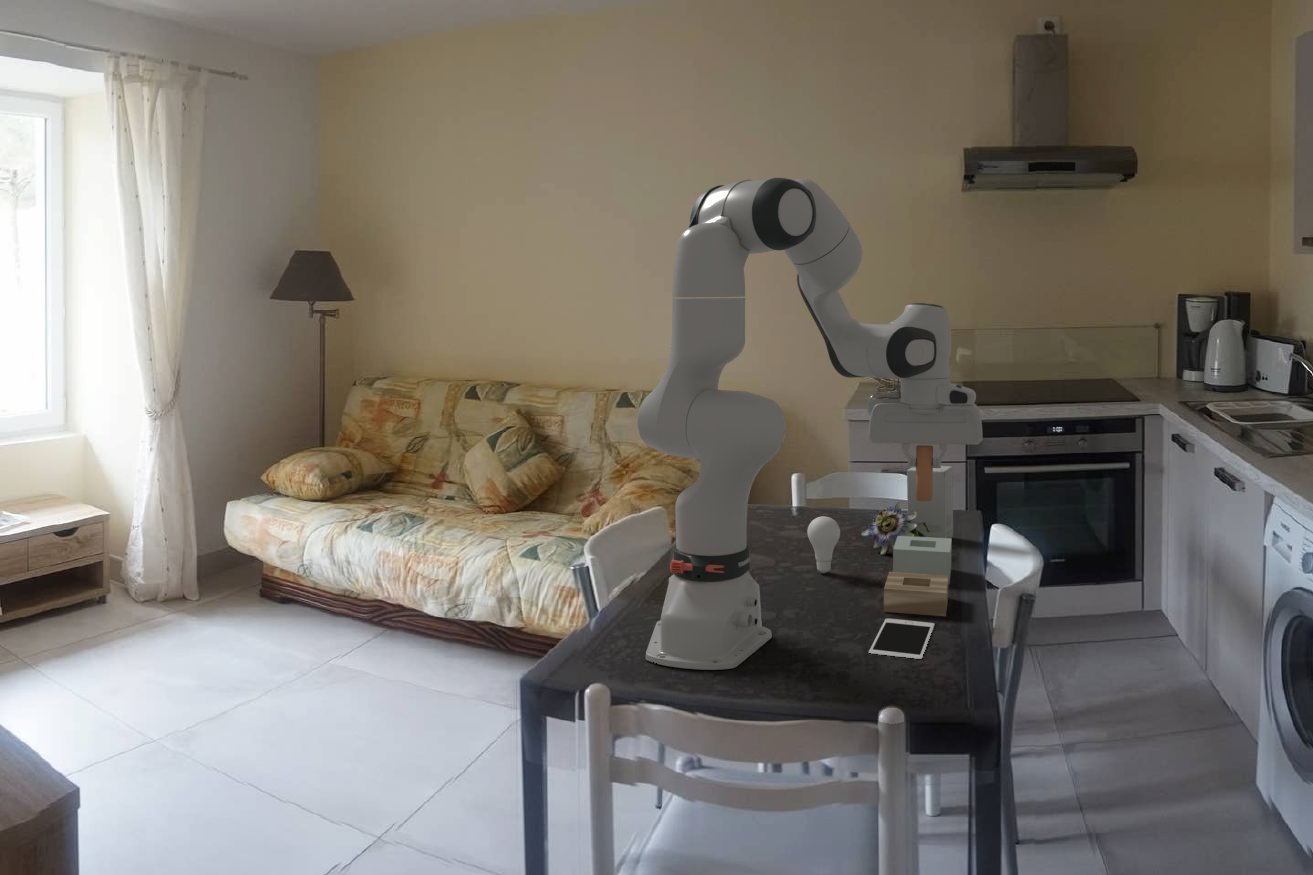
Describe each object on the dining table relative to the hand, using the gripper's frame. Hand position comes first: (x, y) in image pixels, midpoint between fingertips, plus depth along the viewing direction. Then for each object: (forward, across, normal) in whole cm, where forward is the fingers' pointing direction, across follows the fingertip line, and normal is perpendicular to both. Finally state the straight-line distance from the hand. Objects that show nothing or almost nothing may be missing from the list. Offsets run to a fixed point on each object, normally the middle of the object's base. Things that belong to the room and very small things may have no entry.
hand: (924, 467), depth 183 cm
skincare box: (+21, 0, +27) cm, 34 cm away
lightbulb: (+21, -18, -3) cm, 28 cm away
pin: (+6, 0, 0) cm, 6 cm away
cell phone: (+21, -1, -35) cm, 41 cm away
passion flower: (+21, -6, +16) cm, 27 cm away
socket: (+20, 0, 0) cm, 21 cm away
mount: (+20, 0, -18) cm, 27 cm away
